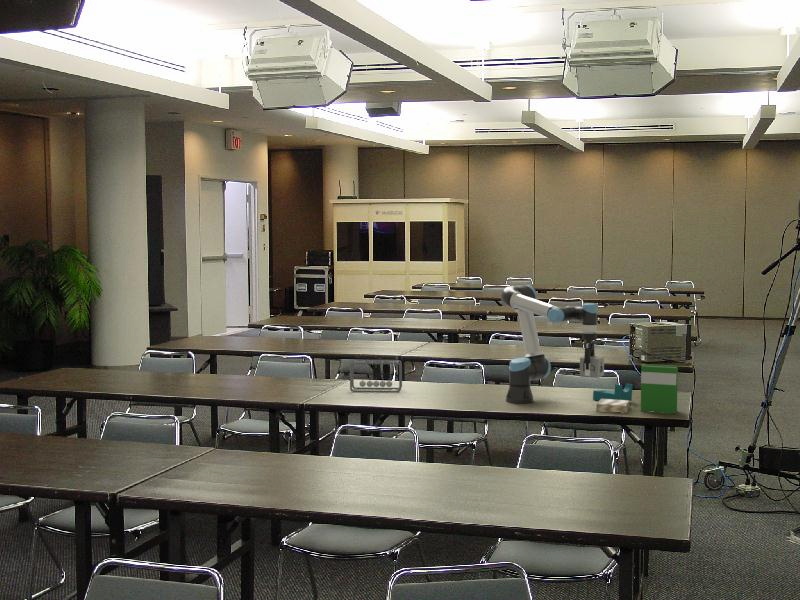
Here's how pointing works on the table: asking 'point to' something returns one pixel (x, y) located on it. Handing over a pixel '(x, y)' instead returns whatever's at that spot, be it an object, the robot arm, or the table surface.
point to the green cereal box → (659, 388)
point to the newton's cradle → (376, 383)
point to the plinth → (613, 405)
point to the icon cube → (593, 366)
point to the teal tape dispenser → (614, 393)
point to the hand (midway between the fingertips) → (589, 373)
